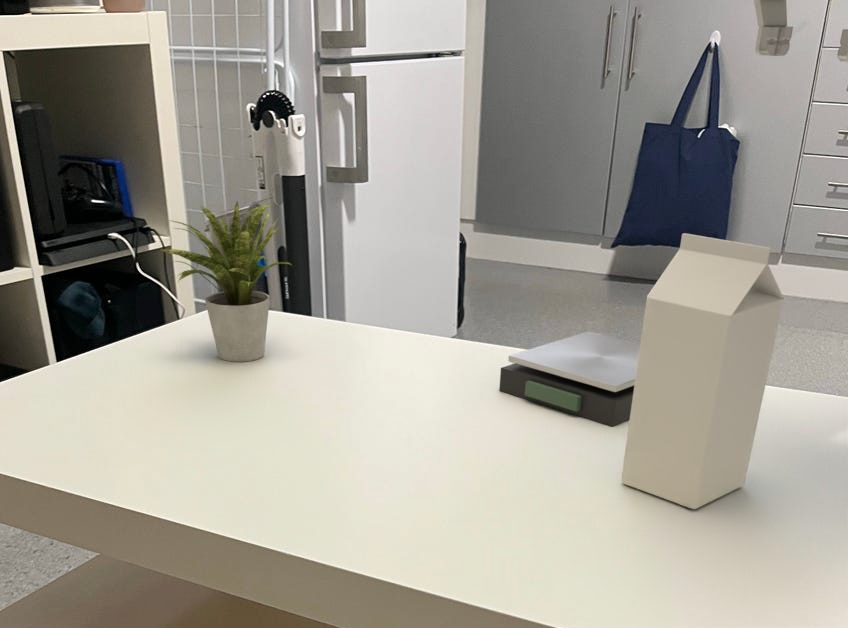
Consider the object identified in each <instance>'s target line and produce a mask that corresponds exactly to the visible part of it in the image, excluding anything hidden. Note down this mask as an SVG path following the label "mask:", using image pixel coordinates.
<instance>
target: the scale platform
mask: <svg viewBox="0 0 848 628" xmlns="http://www.w3.org/2000/svg"><path fill="white" fill-rule="evenodd" d="M639 350H640V343H638V342H633V341H630V340H625V339H622V338H617V337H613V336H610V335H605V334H603V333H597V332H594V331H589V330H588V331H585V332H582V333H578V334H575V335H571V336H567V337H565V338H562V339H558V340H556V341H552V342H548V343H546V344H543V345H539V346H535V347H532V348H530V349H529V348H528V349H526V350H522V351H519V352H516V353H513V354H510V355H508V359H507V360H508V362H509V363H511V364H515V363H516V364H519V365H523V366H526V367H530V368H533V369H536V370H540V371H543V372H547V373H550V374H554V375H557V376H561V377H564V378H567V379H571V380H574V381H578V382H581V383H585V384H588V385H591V386H595V387H598V388H602V389H605V390H609V391H612V392H618V391H620V390H623V389H626V388H629V387H631V386H634V385H635V378H636V371H637V364H638V357H639Z"/></svg>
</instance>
